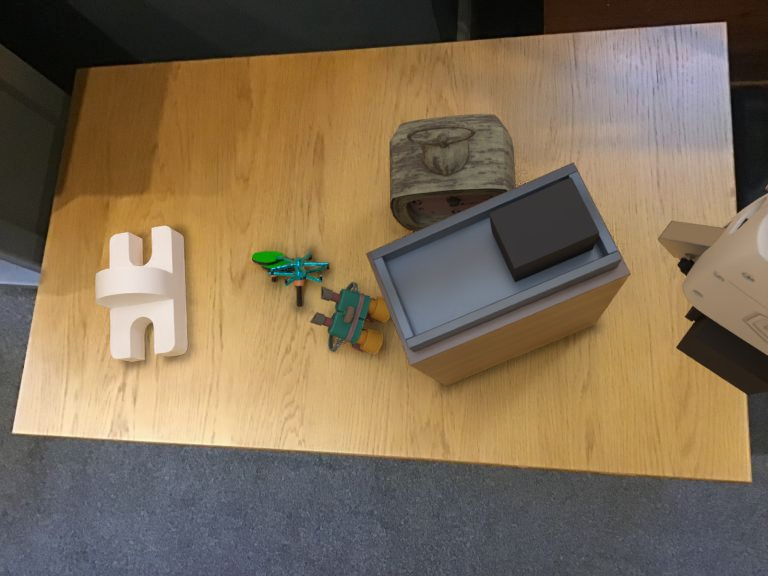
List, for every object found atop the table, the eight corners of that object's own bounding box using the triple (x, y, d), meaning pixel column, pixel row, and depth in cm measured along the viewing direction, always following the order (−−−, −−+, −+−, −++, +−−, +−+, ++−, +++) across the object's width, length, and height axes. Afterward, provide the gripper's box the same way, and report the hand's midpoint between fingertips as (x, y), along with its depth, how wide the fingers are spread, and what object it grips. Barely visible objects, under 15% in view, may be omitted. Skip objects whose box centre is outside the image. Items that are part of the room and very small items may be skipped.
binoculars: (353, 359, 89) (378, 364, 79) (290, 338, 86) (308, 342, 76) (374, 293, 90) (400, 291, 81) (312, 271, 87) (332, 266, 78)
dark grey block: (593, 249, 55) (599, 232, 50) (514, 282, 56) (514, 269, 51) (567, 198, 56) (571, 176, 51) (491, 231, 57) (488, 213, 52)
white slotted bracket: (125, 362, 93) (79, 354, 83) (124, 242, 97) (79, 221, 87) (188, 354, 91) (148, 345, 82) (183, 231, 96) (145, 209, 86)
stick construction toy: (341, 256, 87) (301, 273, 81) (341, 304, 90) (303, 324, 84) (275, 238, 94) (234, 252, 88) (276, 283, 96) (237, 300, 90)
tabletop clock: (407, 240, 88) (365, 170, 64) (406, 177, 90) (365, 86, 66) (517, 233, 86) (516, 157, 62) (513, 168, 87) (511, 70, 64)
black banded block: (812, 305, 41) (853, 288, 36) (748, 395, 41) (780, 390, 36) (737, 261, 43) (766, 238, 38) (674, 347, 42) (695, 336, 37)
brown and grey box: (594, 324, 81) (636, 266, 52) (445, 385, 83) (404, 362, 54) (557, 246, 84) (576, 149, 55) (414, 307, 86) (358, 245, 57)
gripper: (639, 209, 26) (592, 297, 44) (1098, 487, 21) (839, 461, 39) (747, 63, 27) (658, 208, 44) (1223, 305, 22) (911, 360, 39)
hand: (744, 326), depth 41 cm, fingers closed on black banded block, 5 cm apart
